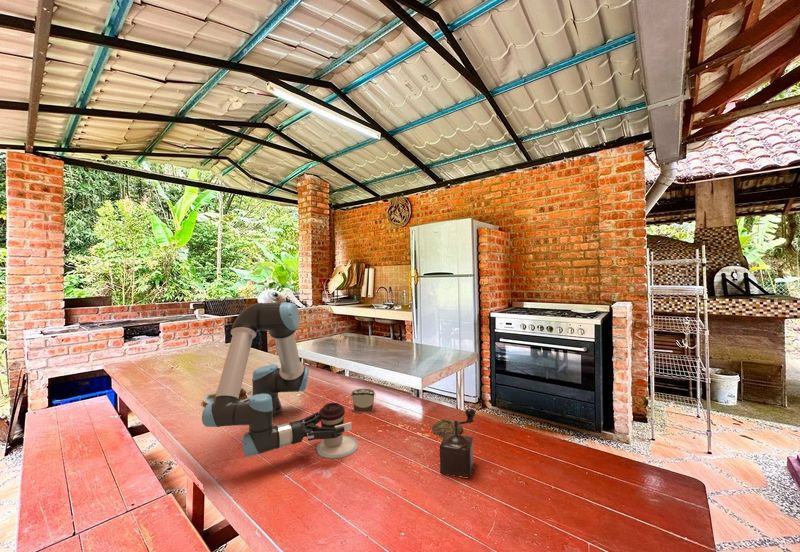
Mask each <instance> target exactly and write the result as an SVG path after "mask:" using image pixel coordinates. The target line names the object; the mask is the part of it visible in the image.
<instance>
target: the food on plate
mask: <svg viewBox="0 0 800 552" xmlns="http://www.w3.org/2000/svg"><path fill="white" fill-rule="evenodd" d="M216 393H217V390H214V391H212V392H210V393H207V394H206V395H205V396H204V397H203V403H204V404H206V405H207V404H211V403H214V401H215V397H216ZM246 394H247V395H248V396H249V397H247V395H246ZM252 396H253V389H250V388H246V387H242V386H241V390H240V394H239V398H238V402H247V401H249V399H250V397H252Z"/></svg>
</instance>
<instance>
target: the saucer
mask: <svg viewBox="0 0 800 552" xmlns="http://www.w3.org/2000/svg"><path fill="white" fill-rule="evenodd" d="M358 448H359V442H358V440H357V439H356V438H354V437H352V436H349V435H343V440H342V443H341V444H340V445H338V446H336V447H327V446H326V445H325V444H324V439H322V440H321V441H320V442H318V444H317V445H316V453H317V455H318V456H320V457H322V458H324V459H331V460H335V459H342V458H346V457H348V456H351V455H353V454H354V453H355V452H356V451H357V450H358Z"/></svg>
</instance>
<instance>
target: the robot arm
mask: <svg viewBox="0 0 800 552" xmlns="http://www.w3.org/2000/svg"><path fill="white" fill-rule="evenodd" d="M300 320H301V319H300V311H299V309H298V307H297V305H296V304H295V303H293V302H285V301H283V302H257V303H253V304H251V305H249V306H247V307H246V308H244V309H243V310H242V311H241V312H240V313H239V314H238V316H237V317H236V318H235V319H234V322H233V323H232V326H231V330H230V335H232V337H231V340H230V343H229V347H228V351H227V354H226V358H225V361H224V365H223V369H222V372H221V375H220V379H219V383H218V386H217V390H216V391H217V393H216V397H215V401H214V403H211V404H207V403H206V405H205V407H204V408H203V410H202V412H201V413H202V414H201V422H202V425H203V426H204V427H207V428H208V427H209V428H221V427H231V426H234V427H235V426H248V432H245V433H244V434H243V435H242V441H241V442H242V443H241V444H242V453H243V455H244V457H252V456H256V455H260V454H264V453H267V452H270V451H275V450H276V449H283V448H284V447H289V446H290V445H295V444H299V443H302V442H303V439H304V438H307V441H309V442H310V441H314V440H324V439H332V438H336V434H339V433H342V432H343V433H344V432H345V433H346V432H349V431H352V430H353V429H352V427H353V425H352V423H353V422H352V421H349V422H346V423H344V424H341V425H338V426H335V428H329V427H321V426H319V425H317V424H319V423H321V418H320V417H319V411H317V412H315V413H312V414H311V415H308V416H307V417H304V418H303V419H299V420H295V421H294V420H293V421H290V422H286V423H285V422H284V423H282V424H277V425H273V419H274V418H277V417H278V416H279V415H281V414H282V413H283V406H282V403H281V401H280V398H279V393H299V392H304V391H306V389H307V387H308V383H309V382H308V380H309V373H310V372H309V367H308V366H305V365H304V364H303V362H301V361H300V357H299V351H298V345H297V341H296V336H295V333H296V331H297V330H298V329H299V327H300V323H301V322H300ZM262 331H263V332H264V331H265V332H266V331H267V332H268V334H269V336H270V337H272V338H273V339H274V343H275V346H276V351H277V355H278V360H279V363H280V367H279V366H278V364H267V365H262V366H260V367H257V368H255V369H254V370H253V372H252V380H251V382H252V391H253V396H252V397H250V399H248V401H243V402H238V398H239V394H240V390H241V387H242V386H243V385H242V384H243V382H244V381H243V380H244V377H245V372H246V368H247V364H248V360H249V356H250V351H251V347H252V343H253V339H255V338H256V337H257V334H258V332H262Z"/></svg>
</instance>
